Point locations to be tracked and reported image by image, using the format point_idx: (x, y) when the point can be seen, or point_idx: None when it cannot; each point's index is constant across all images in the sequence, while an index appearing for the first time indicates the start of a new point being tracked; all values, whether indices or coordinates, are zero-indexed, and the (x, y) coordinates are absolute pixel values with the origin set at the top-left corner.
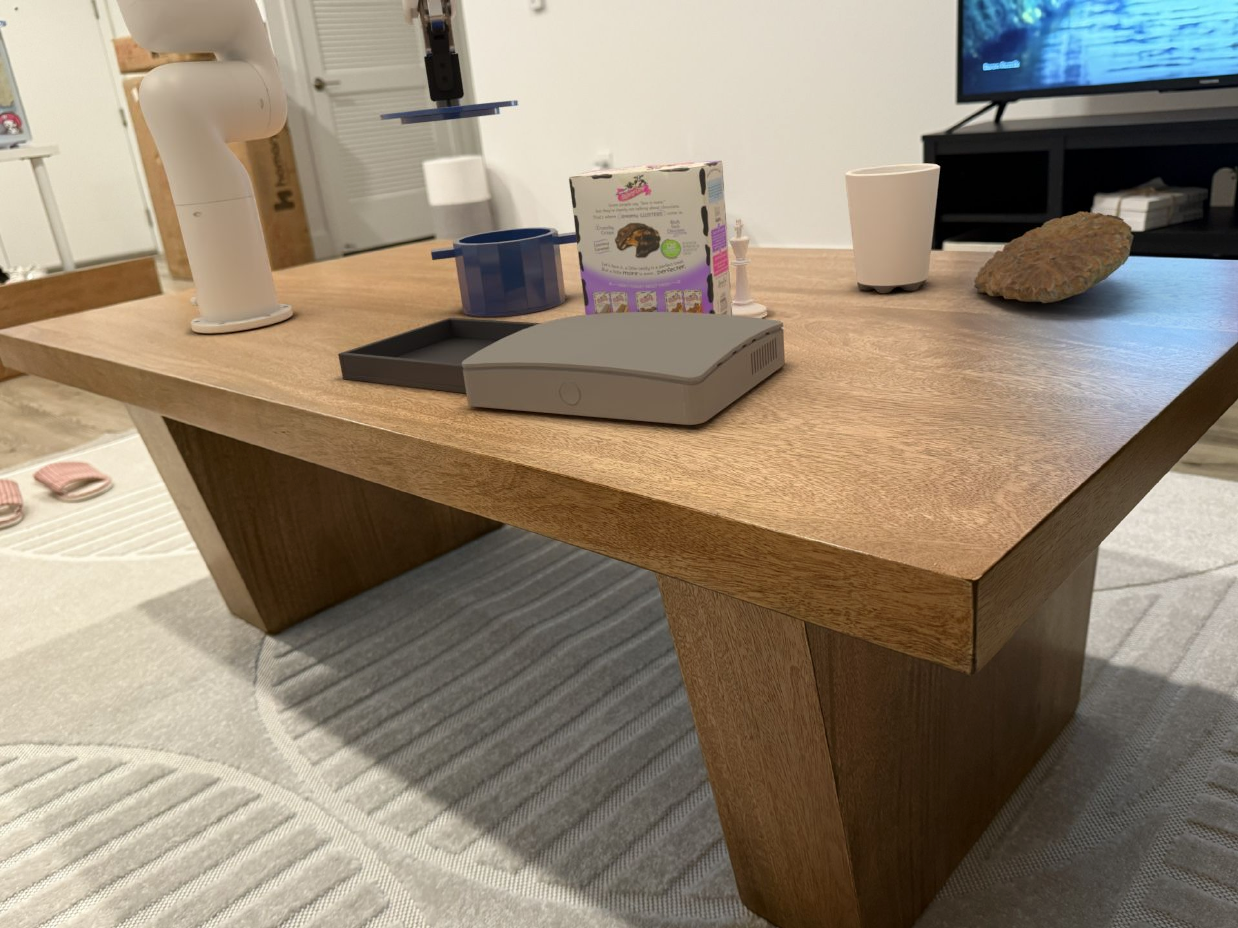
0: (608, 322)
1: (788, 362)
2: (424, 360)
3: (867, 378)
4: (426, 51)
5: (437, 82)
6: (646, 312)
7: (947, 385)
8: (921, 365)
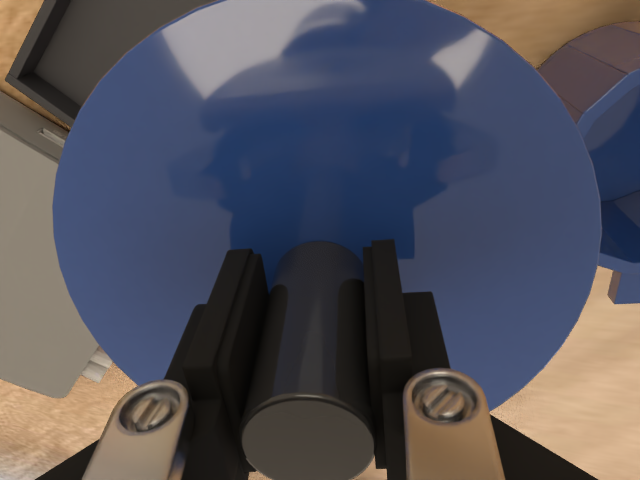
0: (49, 266)
1: None
2: (50, 7)
3: (33, 403)
4: (124, 399)
5: (189, 318)
6: None
7: (6, 434)
8: (64, 438)
